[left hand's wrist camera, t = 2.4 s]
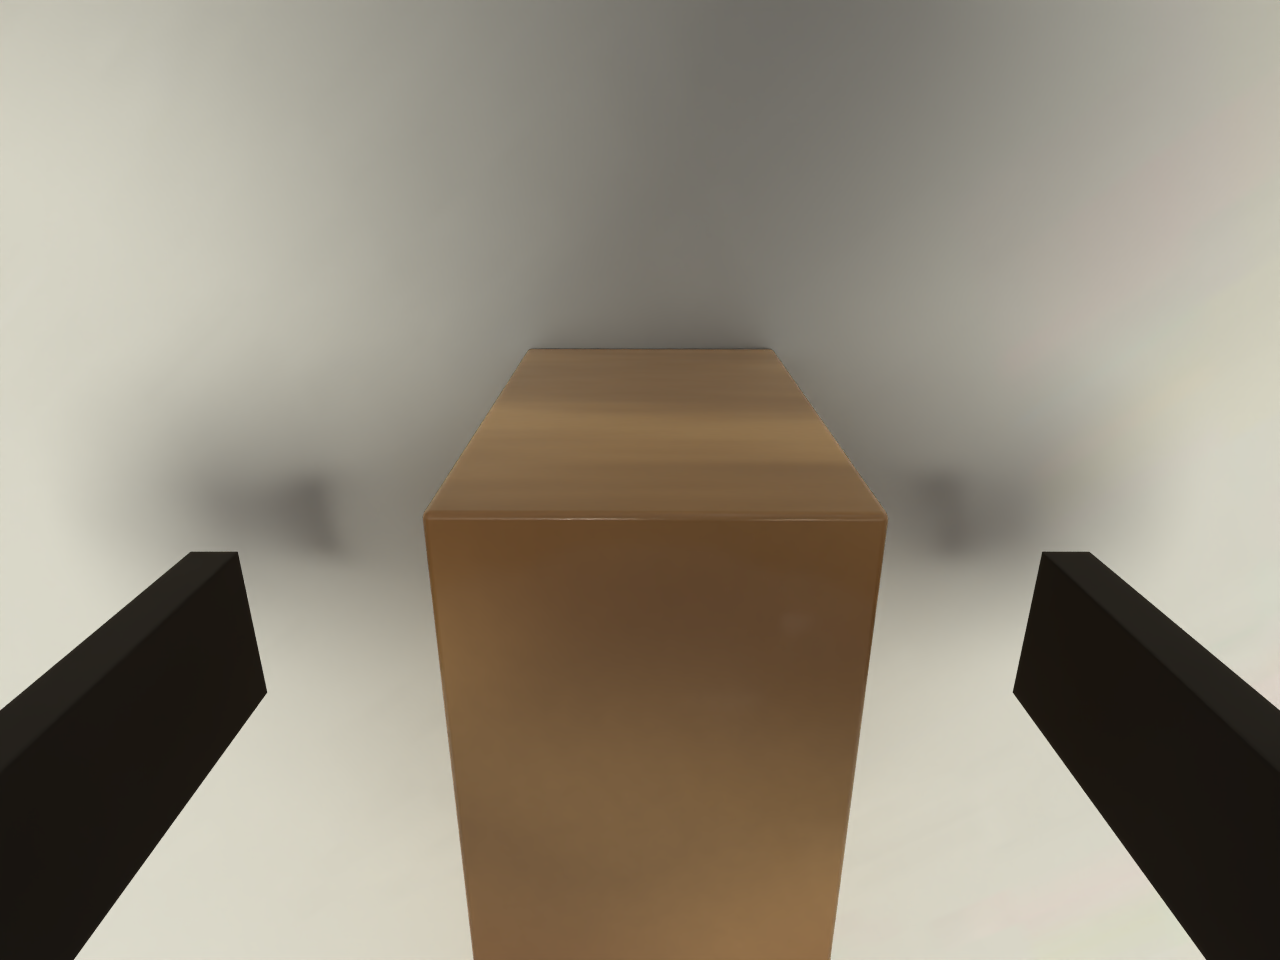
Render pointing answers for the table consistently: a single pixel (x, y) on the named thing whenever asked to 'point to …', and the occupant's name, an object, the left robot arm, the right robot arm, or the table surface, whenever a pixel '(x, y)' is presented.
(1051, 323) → the table surface
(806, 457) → the bar
